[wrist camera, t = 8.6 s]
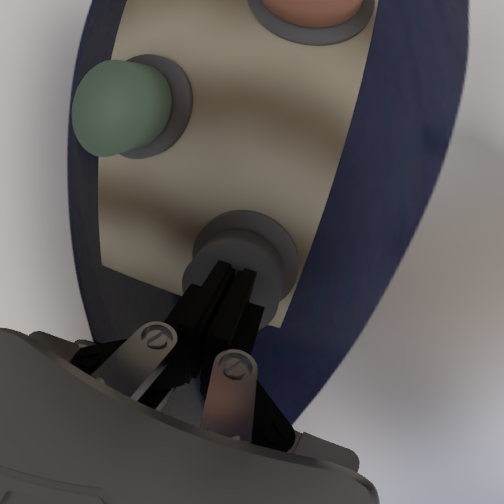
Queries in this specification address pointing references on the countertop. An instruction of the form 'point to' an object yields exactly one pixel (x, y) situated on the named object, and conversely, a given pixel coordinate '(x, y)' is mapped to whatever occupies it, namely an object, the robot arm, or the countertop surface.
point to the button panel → (230, 134)
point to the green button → (120, 107)
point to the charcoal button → (242, 266)
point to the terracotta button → (313, 11)
